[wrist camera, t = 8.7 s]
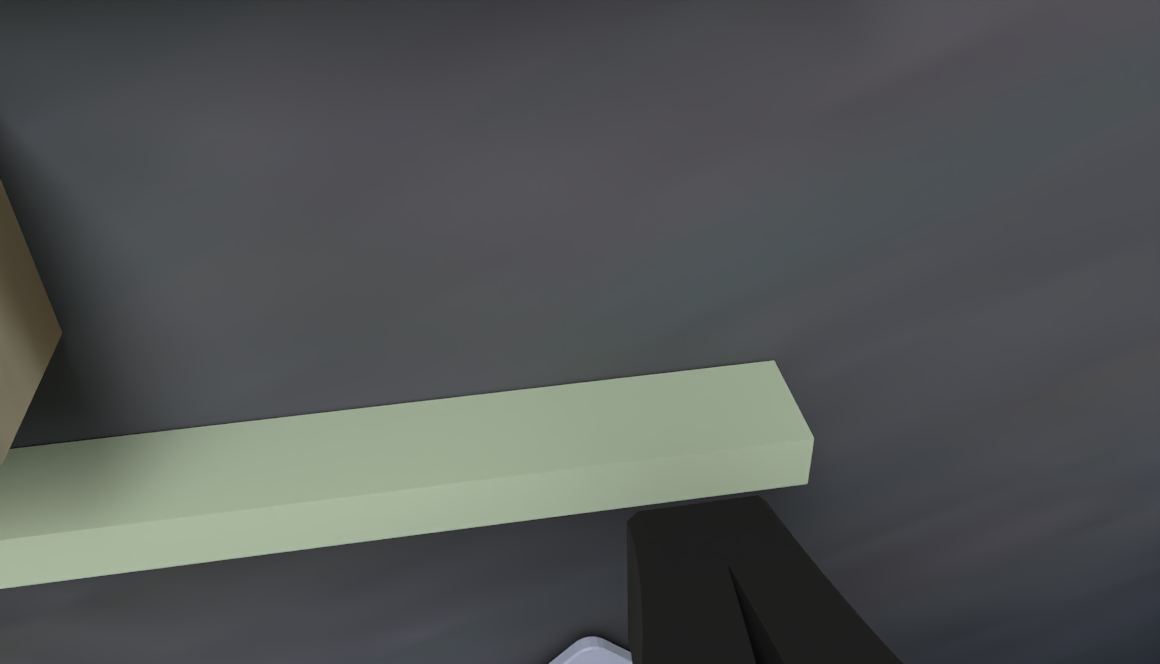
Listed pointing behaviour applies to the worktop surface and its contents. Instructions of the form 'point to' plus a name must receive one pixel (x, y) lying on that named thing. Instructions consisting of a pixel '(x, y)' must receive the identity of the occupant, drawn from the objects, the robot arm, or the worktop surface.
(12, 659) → the worktop surface
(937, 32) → the worktop surface
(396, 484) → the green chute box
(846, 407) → the worktop surface
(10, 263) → the maple block
